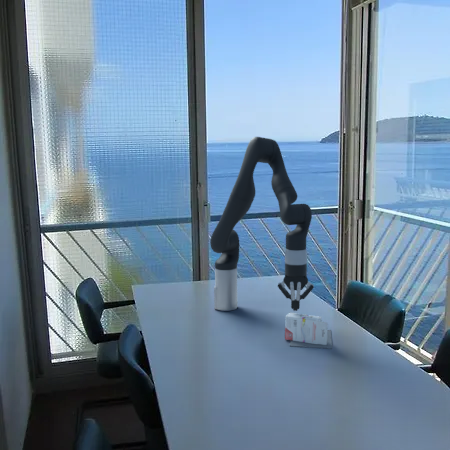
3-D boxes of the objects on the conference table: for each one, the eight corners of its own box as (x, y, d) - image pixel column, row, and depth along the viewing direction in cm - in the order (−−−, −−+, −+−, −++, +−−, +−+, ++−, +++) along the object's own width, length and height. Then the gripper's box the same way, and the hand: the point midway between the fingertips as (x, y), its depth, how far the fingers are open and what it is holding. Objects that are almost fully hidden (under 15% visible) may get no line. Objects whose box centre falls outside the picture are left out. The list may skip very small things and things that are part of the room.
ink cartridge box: (288, 334, 178) (330, 341, 172) (284, 339, 174) (326, 346, 167) (289, 311, 177) (330, 317, 171) (285, 315, 172) (327, 322, 166)
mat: (289, 346, 168) (289, 345, 168) (292, 328, 185) (292, 328, 185) (332, 348, 166) (332, 347, 166) (330, 330, 182) (330, 329, 182)
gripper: (275, 263, 170) (275, 312, 173) (315, 264, 168) (314, 314, 170) (277, 258, 177) (277, 306, 180) (315, 259, 175) (314, 307, 177)
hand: (295, 310), depth 175 cm, fingers closed
